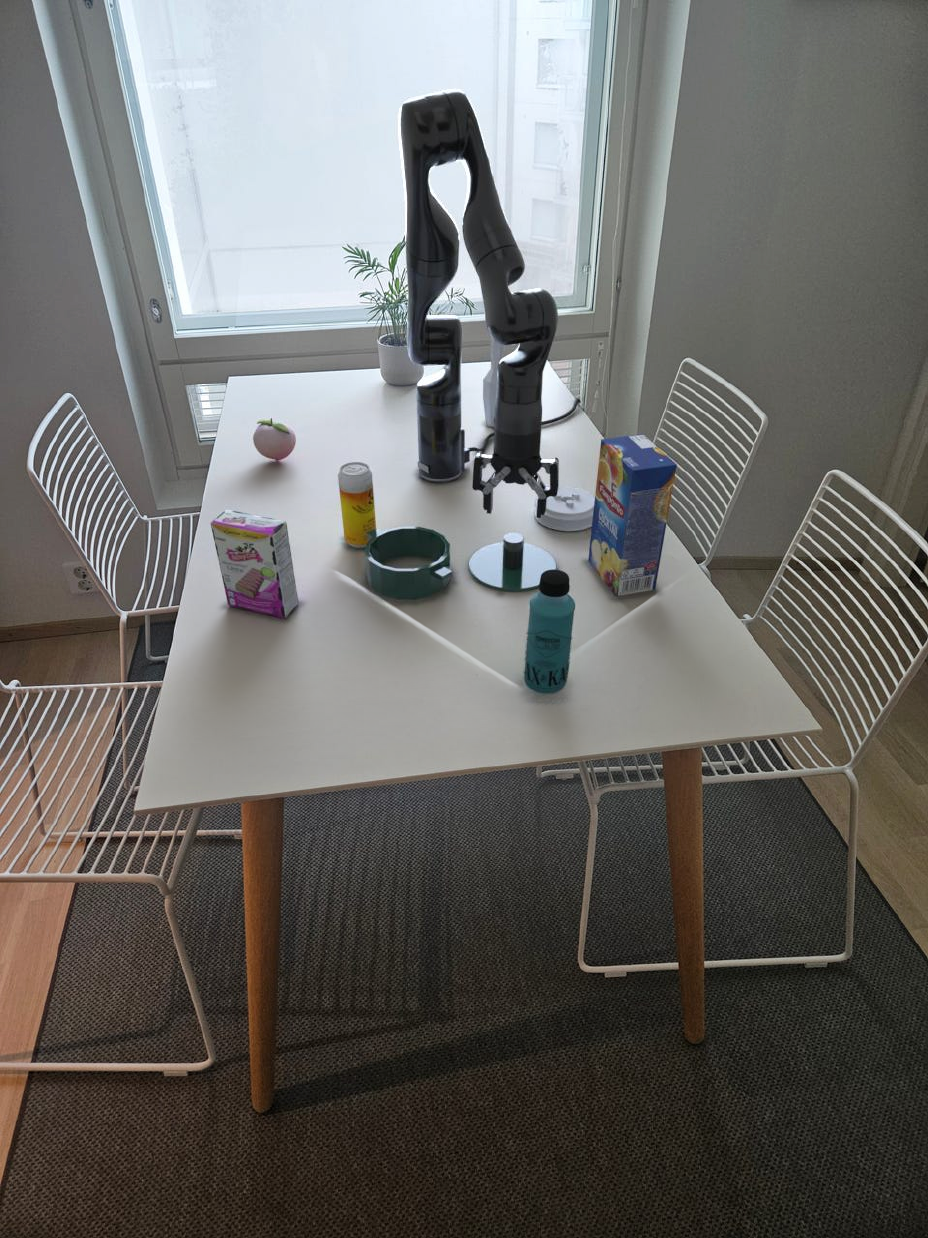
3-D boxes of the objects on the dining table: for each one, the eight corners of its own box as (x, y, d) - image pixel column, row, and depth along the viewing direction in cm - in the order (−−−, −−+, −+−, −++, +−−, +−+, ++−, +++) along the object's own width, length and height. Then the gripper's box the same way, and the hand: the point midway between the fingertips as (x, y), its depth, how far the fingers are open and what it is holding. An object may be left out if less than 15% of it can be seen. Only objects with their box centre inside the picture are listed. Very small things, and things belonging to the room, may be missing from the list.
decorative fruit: (248, 465, 178) (241, 422, 172) (269, 450, 184) (262, 408, 178) (285, 472, 175) (278, 429, 169) (304, 457, 181) (299, 415, 175)
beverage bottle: (519, 675, 121) (526, 563, 109) (563, 672, 121) (574, 561, 109) (526, 704, 116) (533, 590, 104) (571, 701, 116) (584, 588, 104)
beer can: (371, 550, 149) (365, 477, 140) (340, 547, 150) (332, 474, 141) (380, 534, 154) (375, 462, 145) (350, 531, 155) (343, 459, 146)
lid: (606, 511, 161) (608, 488, 158) (586, 541, 152) (588, 517, 149) (546, 498, 165) (548, 476, 162) (524, 526, 156) (525, 504, 153)
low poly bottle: (513, 422, 197) (517, 331, 184) (500, 431, 193) (503, 338, 180) (491, 416, 200) (493, 326, 187) (477, 425, 195) (479, 333, 182)
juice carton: (655, 592, 138) (677, 464, 124) (615, 598, 137) (633, 470, 122) (625, 556, 148) (642, 433, 133) (587, 562, 146) (601, 439, 132)
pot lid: (510, 538, 153) (511, 507, 149) (573, 570, 144) (576, 537, 140) (451, 569, 144) (450, 537, 140) (515, 605, 135) (516, 572, 131)
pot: (403, 542, 152) (401, 512, 148) (478, 584, 140) (478, 554, 137) (341, 572, 144) (338, 541, 140) (416, 619, 132) (414, 588, 128)
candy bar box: (226, 607, 135) (207, 522, 125) (242, 591, 139) (225, 507, 129) (285, 620, 132) (271, 534, 122) (300, 603, 136) (287, 518, 126)
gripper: (564, 417, 129) (557, 507, 139) (477, 411, 131) (476, 499, 141) (560, 436, 123) (553, 528, 133) (469, 429, 126) (469, 520, 135)
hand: (514, 513), depth 137 cm, fingers open, 8 cm apart
